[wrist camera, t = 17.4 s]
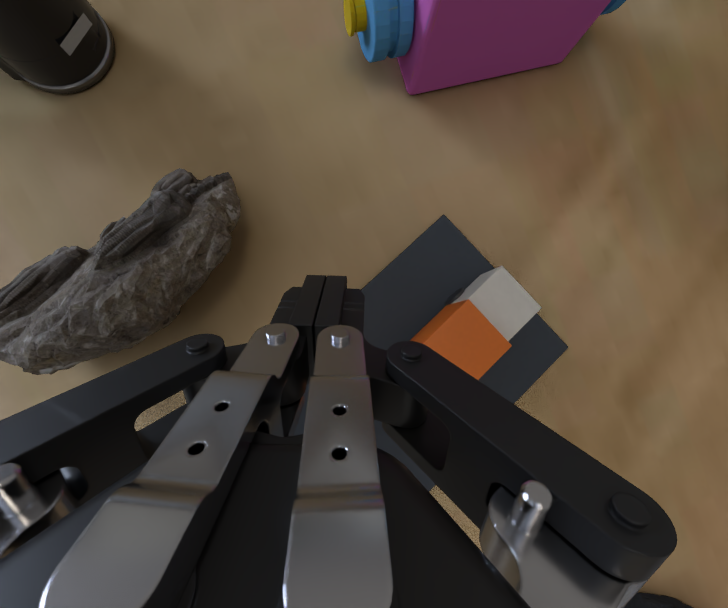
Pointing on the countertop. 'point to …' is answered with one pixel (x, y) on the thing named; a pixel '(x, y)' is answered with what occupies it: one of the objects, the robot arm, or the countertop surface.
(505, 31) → the toy
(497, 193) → the countertop surface
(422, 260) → the mat
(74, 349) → the fossil
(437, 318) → the truck
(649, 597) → the rock
